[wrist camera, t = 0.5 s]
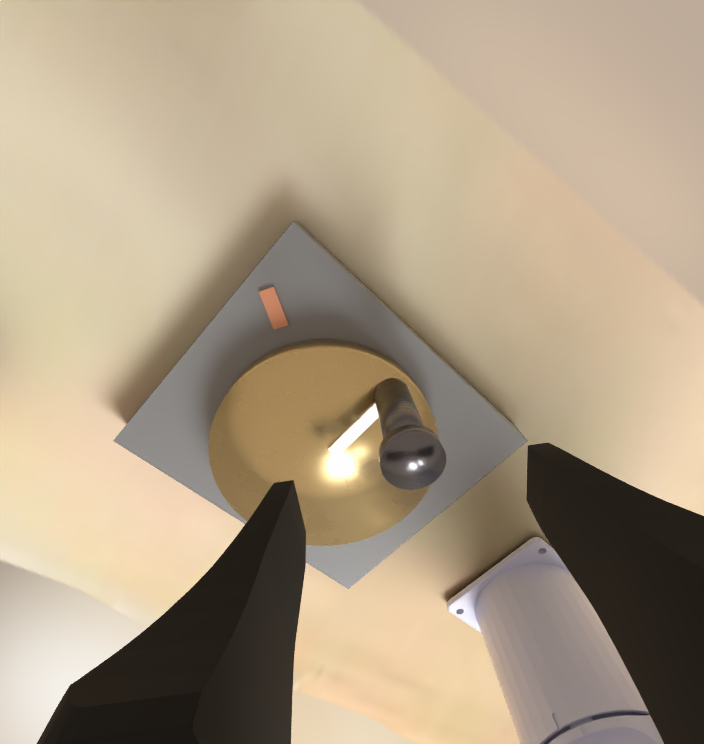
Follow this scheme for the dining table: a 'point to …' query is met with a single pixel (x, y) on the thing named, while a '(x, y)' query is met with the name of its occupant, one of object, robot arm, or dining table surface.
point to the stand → (307, 322)
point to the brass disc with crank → (327, 438)
